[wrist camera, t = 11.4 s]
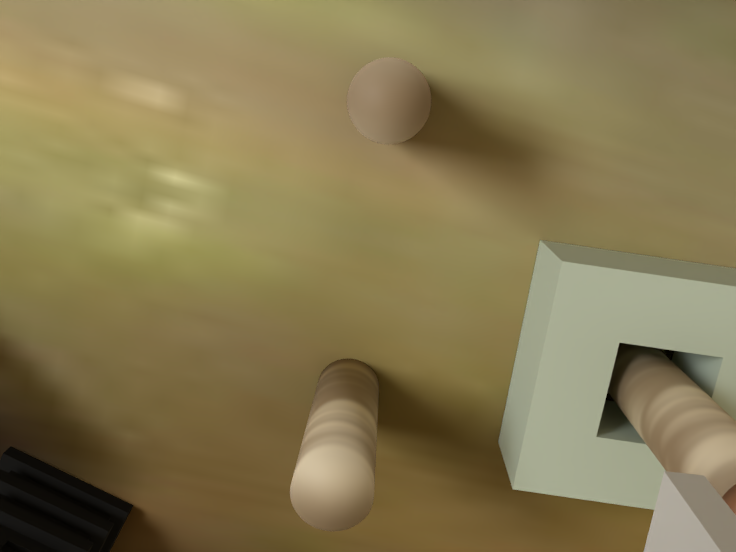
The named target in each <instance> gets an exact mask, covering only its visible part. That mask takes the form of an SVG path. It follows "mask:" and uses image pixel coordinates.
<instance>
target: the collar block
mask: <svg viewBox="0 0 736 552" xmlns="http://www.w3.org/2000/svg"><path fill="white" fill-rule="evenodd" d="M619 343H625V344H632V345H639V346H646V347H653V348H660V349H667V350H674V353H673V357H672V360H671V361H672V362H673V363H674V364H675V365H677V366H678V367H679V368H680V369H681V370H682V371H683V372H684V373H685V374H686V375H687V376H688V377H689V378H690V379H692V380H693V381H694V382H695V383H696V384H697V385H698V386H699V387H700V388H701V389H702V390H703V391H704V392H705V393H706V394H708V395H709V396H710V397H711V398H712V399H713V400H714V401H715V402H716V403H717V404H718V405H719V406H720V407H721V408H722V409H724V410H725V411H726V412H727V413H728V414H729V415H730V416H731V417H732V418H733V419H734V420H735V421H736V268H729V267H722V266H715V265H708V264H702V263H695V262H688V261H681V260H674V259H667V258H660V257H653V256H647V255H640V254H633V253H626V252H619V251H612V250H605V249H598V248H592V247H585V246H578V245H571V244H564V243H557V242H550V241H543V240H540V243H539V248H538V253H537V257H536V262H535V267H534V272H533V277H532V282H531V286H530V291H529V296H528V301H527V306H526V310H525V315H524V320H523V325H522V330H521V335H520V339H519V344H518V349H517V354H516V359H515V363H514V368H513V373H512V378H511V383H510V387H509V392H508V397H507V402H506V407H505V412H504V416H503V421H502V426H501V431H500V436H499V440H498V443H499V446H500V450H501V453H502V456H503V459H504V463H505V466H506V469H507V472H508V476H509V479H510V482H511V485H512V489H514V490H521V491H528V492H535V493H542V494H549V495H556V496H563V497H570V498H576V499H583V500H590V501H597V502H604V503H611V504H618V505H625V506H632V507H638V508H645V509H652V510H654V509H655V505H656V502H657V498H658V494H659V490H660V486H661V482H662V478H663V474H664V471H666V470H665V469H664V467H663V466H662V465H661V463H660V462H659V461H658V459H657V458H656V457H655V455H654V454H653V453H652V451H651V450H650V448H649V447H648V446H647V444H646V443H645V442H644V440H643V439H642V438H641V436H640V435H639V434H638V432H637V431H636V429H635V428H634V427H633V425H632V424H631V423H630V421H629V420H628V419H627V417H626V416H625V414H624V413H623V412H622V410H621V409H620V408H619V406H618V405H617V404H616V402H615V401H608V400H606V396H607V391H608V387H609V383H610V379H611V375H612V371H613V367H614V363H615V359H616V355H617V351H618V347H619Z"/></svg>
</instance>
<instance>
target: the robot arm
mask: <svg viewBox="0 0 736 552" xmlns="http://www.w3.org/2000/svg"><path fill="white" fill-rule="evenodd" d="M644 552H736V515H735V514H734V512H733V511H732V510H731V509H730V507H729V506H728V505H727V504H726V502H725V501H724V500H723V499H722V497H721V496H720V495H719V494H718V492H717V491H716V490H715V489H714V487H713V486H712V485H711V484H710V482H709V481H708V480H707V479H706V477H705V476H704V475H695V474H686V473H677V472H668V471H664V474H663V478H662V482H661V486H660V490H659V494H658V498H657V502H656V505H655V509H654V513H653V517H652V521H651V525H650V529H649V533H648V537H647V541H646V545H645V549H644Z"/></svg>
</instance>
